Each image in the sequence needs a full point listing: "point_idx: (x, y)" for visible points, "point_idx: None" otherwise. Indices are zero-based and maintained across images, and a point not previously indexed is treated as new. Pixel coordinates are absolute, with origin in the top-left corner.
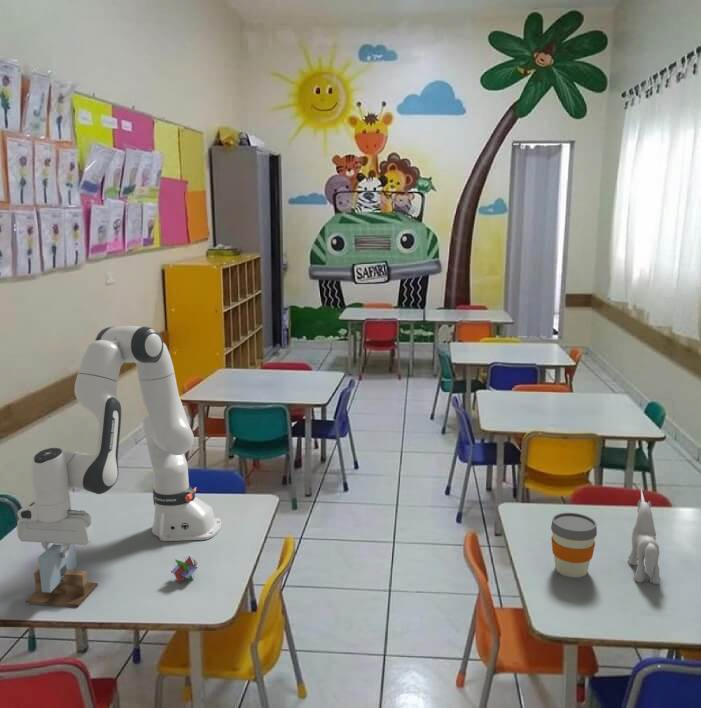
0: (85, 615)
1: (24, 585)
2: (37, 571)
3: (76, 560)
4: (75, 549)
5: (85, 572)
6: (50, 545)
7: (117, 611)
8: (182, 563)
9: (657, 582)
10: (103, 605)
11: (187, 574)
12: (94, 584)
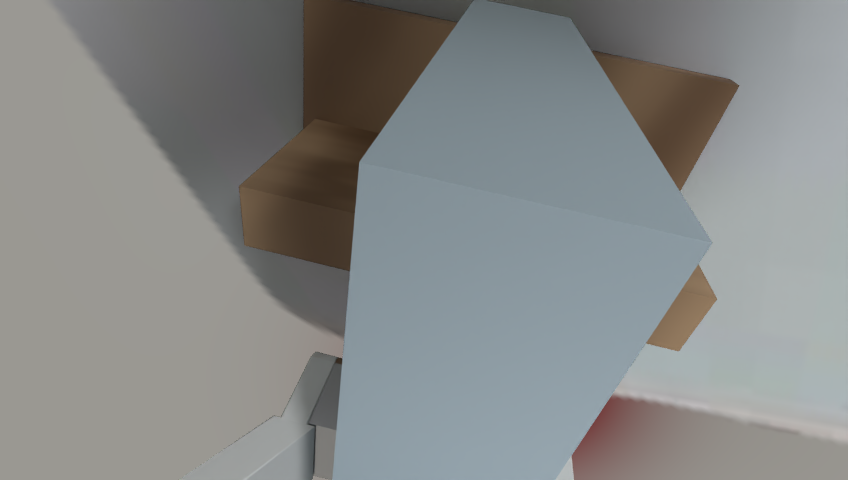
0: (651, 370)
1: (175, 27)
2: (263, 236)
3: (576, 31)
4: (599, 68)
5: (706, 311)
6: (268, 460)
7: (833, 373)
8: None
9: None
10: (755, 315)
11: None
12: (710, 111)
